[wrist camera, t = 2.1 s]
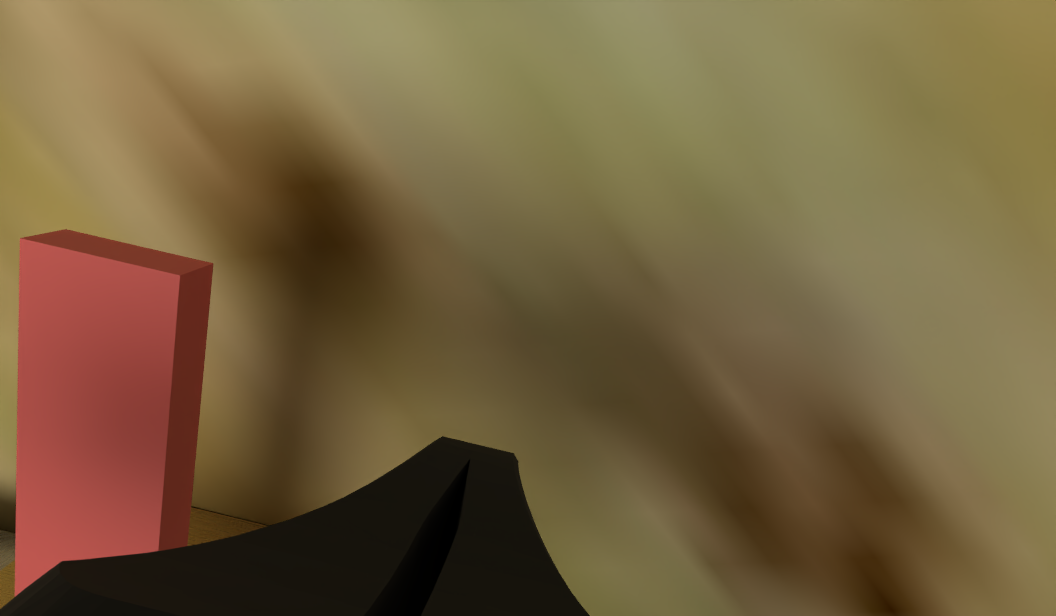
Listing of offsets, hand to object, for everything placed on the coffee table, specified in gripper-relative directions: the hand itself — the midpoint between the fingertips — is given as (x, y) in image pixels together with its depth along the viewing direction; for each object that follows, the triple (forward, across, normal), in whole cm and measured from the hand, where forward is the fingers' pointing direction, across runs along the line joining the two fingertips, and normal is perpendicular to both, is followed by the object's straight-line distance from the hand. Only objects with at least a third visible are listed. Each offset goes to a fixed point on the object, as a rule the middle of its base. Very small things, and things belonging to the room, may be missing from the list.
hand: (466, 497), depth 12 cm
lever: (0, +6, +4) cm, 7 cm away
